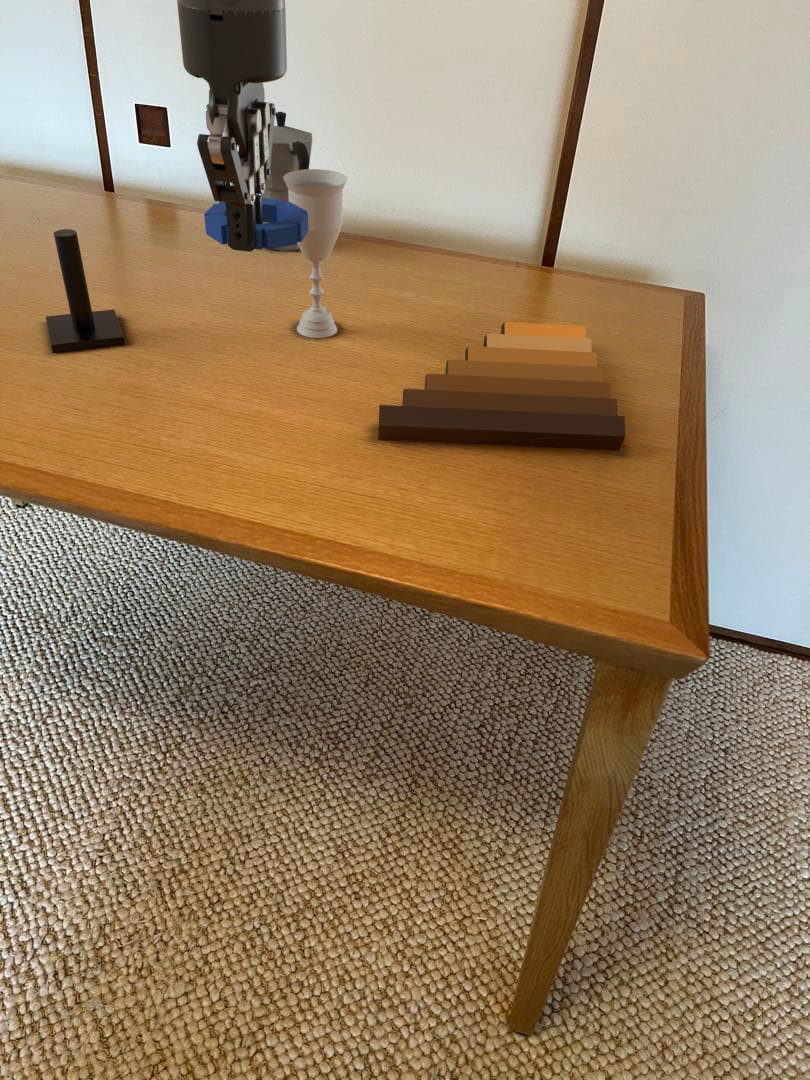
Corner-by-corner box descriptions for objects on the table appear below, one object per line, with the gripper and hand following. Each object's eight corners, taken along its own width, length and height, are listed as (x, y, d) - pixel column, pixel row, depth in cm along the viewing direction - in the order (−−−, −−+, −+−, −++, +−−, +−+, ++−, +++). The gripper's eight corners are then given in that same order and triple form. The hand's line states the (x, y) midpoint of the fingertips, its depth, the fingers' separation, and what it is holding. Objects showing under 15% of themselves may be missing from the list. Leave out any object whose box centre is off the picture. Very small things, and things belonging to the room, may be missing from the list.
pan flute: (378, 443, 82) (620, 453, 84) (379, 413, 80) (628, 425, 81) (380, 335, 102) (577, 345, 103) (381, 309, 100) (582, 319, 101)
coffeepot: (240, 230, 128) (232, 102, 116) (296, 223, 132) (293, 100, 120) (277, 264, 118) (272, 129, 106) (336, 256, 121) (337, 125, 110)
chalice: (325, 312, 106) (324, 166, 94) (356, 332, 102) (360, 181, 90) (277, 325, 102) (270, 174, 91) (308, 346, 98) (305, 191, 87)
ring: (294, 253, 67) (293, 234, 66) (195, 243, 68) (193, 223, 67) (315, 221, 74) (314, 203, 73) (224, 212, 74) (223, 193, 73)
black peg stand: (52, 353, 93) (28, 248, 85) (47, 324, 99) (23, 223, 91) (125, 344, 96) (107, 242, 88) (115, 316, 101) (98, 218, 94)
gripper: (209, -15, 63) (226, 215, 74) (143, 4, 52) (175, 270, 63) (304, -7, 62) (308, 223, 73) (258, 15, 52) (269, 280, 63)
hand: (246, 244), depth 68 cm, fingers closed on ring, 1 cm apart
